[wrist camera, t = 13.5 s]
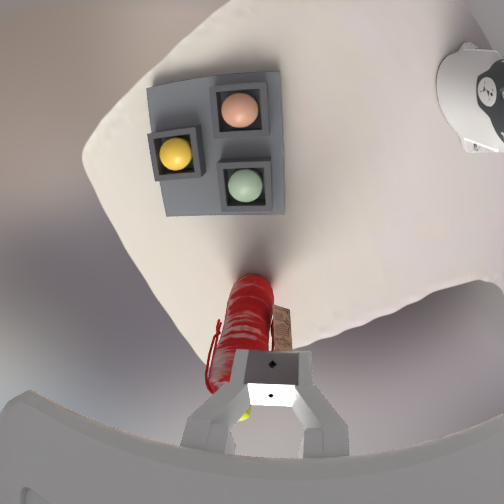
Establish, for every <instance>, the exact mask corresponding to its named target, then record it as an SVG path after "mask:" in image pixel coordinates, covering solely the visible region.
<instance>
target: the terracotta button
mask: <svg viewBox="0 0 504 504" xmlns="http://www.w3.org/2000/svg"><path fill="white" fill-rule="evenodd" d="M221 112H222V116H223V118H224V120H225V121H226V122H227V123H228V124H229V125H231V126H233V127H246V126H248V125H250V124H251V123H252V122H254V121H255V120H256V118H257V117H258V114H259V105H258V102H257V101H256V99H255V98H254V97H252V96H251V95H248V94H244V93H236V94H233V95H231V96H229V97H228V98H227V99H226V100H225V101H224V102H223V105H222V109H221Z"/></svg>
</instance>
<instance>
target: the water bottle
mask: <svg viewBox="0 0 504 504" xmlns="http://www.w3.org/2000/svg"><path fill="white" fill-rule="evenodd" d="M272 314H273V320H272ZM271 320H272V323H271ZM219 322H220V319H218V322H217V325H216V331H217V332H216V334H215V335H214V336H213V340H212V343H211V347H210V350H209V354H208V359H207V365H206V371H205V382H206V386H207V389H208V390H209V391H210V393H212V394H214V393H215V392H216V391H217V390H218V389H219V388H220V387H222V386H223V385H224V384H225V383H226V382H230V377H231V372H232V367H233V362H234V357H235V352H236V350H237V349H246V350H260V351H269V346H268V343H269V331H270V325H271V336H272V350H271V351H292V337H291V321H290V310H289V309H286V308H283V307H280V306H276V305H274V295H273V290H272V288H271V285H270V284H269V283H268V282H267V281H266V280H265V279H264V278H263V277H261V276H258V275H255V274H253V275H245V276H244V277H242V278H240V279H239V280H238V281H237V282H236V283H235V284H234V285H233V287H232V290H231V292H230V296H229V299H228V302H227V308H226V315H225V321H224V326H223V330H222V334H221V332H220V327H221V324H222V323H221V322H220V324H219ZM218 326H219V327H218ZM220 334H221V337H220V340H219V342H218V336H219V335H220ZM215 337H216V340H215ZM214 340H215V346H214V351H213V356H212V361H211V366H210V371H209V377H208V378H207V372H208V366H209V361H210V355H211V351H212V347H213V344H214ZM217 342H218V345H217ZM216 347H217V348H216ZM274 347H275V350H274ZM250 412H251V406H250V407H249V408H248V410H247V411H246V412H245V413H244V414H243V416H242V417H241V418H240V419H239V420H238V421H242V420H246V419H247V418H248V417H249V416H250Z"/></svg>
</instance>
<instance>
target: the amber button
mask: <svg viewBox="0 0 504 504" xmlns="http://www.w3.org/2000/svg"><path fill="white" fill-rule="evenodd" d="M160 159H161V162H162V163H163V165H164V166H165V167H167V168H168V169H171V170H180V169H183V168H184V167H185V166H187V165H188V164H189V163H190V162H191V161H192V160H193V155H192V147H191V141H190V140H189V139H188V138H186V137H182V136H177V137H174V138H172V139H169V140H167V141H166V142H165V143H164V144H163V145H162V146H161V149H160Z"/></svg>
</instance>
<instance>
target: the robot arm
mask: <svg viewBox="0 0 504 504" xmlns="http://www.w3.org/2000/svg"><path fill="white" fill-rule="evenodd" d="M436 85H437V95H438V100H439V103H440V106H441V109H442V112H443V114H444V116H445V118H446V119H447V121H448V122H449V124H450V125H451V126H452V128H453V129H454V130H455V131H456V132H457V134H458V135H459V138H460V141H461V144H462V146H463V148H464V150H465V151H467V152H470V153H482V152H504V56H502V55H501V54H500V53H499V52H498V51H495V50H482V49H480V48H478V47H477V46H476V45H474V44H473V43H471V42H464V43H463V44H462V46H461V47H460V49H459V51H457V52H455V53H453V54H450V55H449V56H447V57H446V58H445V59H444V60H443V62H442V63H441V65H440V67H439V70H438V74H437V84H436ZM474 143H475V146H474ZM312 384H313V383H312V355H311V351H260V350H246V349H237V350H236V352H235V357H234V362H233V367H232V372H231V377H230V382H226V383H225V384H224V385H223V386H222V387H220V388H219V389H218V390H217V391H216V392H215V393H214V394H213V395H212V396H211V397H210V398H209V399H208V400H207V401H206V402H205V403H203V404H202V405H201V406H200V407H199V408H198V409H197V410H196V411H195V412H194V413H192V414H191V415H190V416H189V417H188V419H187V422H186V426H185V430H184V433H183V437H182V441H181V445H180V446H178V445H173V444H169V443H165V442H161V441H157V440H153V439H150V438H146V437H142V436H139V435H136V434H132V433H130V432H126V431H123V430H120V429H118V428H115V427H111V426H109V425H106V424H104V423H101V422H98V421H96V420H94V419H91V418H89V417H86V416H84V415H82V414H79V413H77V412H75V411H73V410H70V409H68V408H66V407H64V406H62V405H60V404H58V403H56V402H54V401H52V400H50V399H48V398H46V397H45V396H43V395H41V394H39V393H37V392H35V391H33V390H28V391H26V392H24V393H22V394H20V395H18V396H16V397H15V398H13V399H11V400H10V401H9V402H8V403H7V404H6V405H5V407H4V408H3V409H2V411H1V413H0V504H504V413H503V414H501V415H499V416H496V417H494V418H492V419H490V420H488V421H485V422H483V423H480V424H478V425H475V426H473V427H470V428H467V429H465V430H462V431H460V432H456V433H453V434H450V435H447V436H444V437H441V438H438V439H434V440H430V441H427V442H423V443H419V444H415V445H411V446H406V447H402V448H397V449H392V450H387V451H381V452H374V453H367V454H360V455H351V456H349V438H348V425H347V424H346V423H345V422H344V420H343V419H342V418H341V417H340V415H339V414H338V413H337V412H336V410H335V409H334V408H333V407H332V405H331V404H330V403H329V401H328V400H327V399H326V398H325V396H324V395H323V394H322V393H321V391H320V390H319V389H318V387H317V386H313V385H312ZM251 405H278V406H291V407H292V409H293V410H294V412H295V414H296V415H297V417H298V419H299V420H300V422H301V424H302V425H303V427H304V428H305V431H304V434H303V438H302V440H301V443H300V446H299V452H298V454H299V455H298V458H296V459H295V458H264V457H263V458H262V457H250V456H239V455H235V448H236V444H235V442H234V439H233V437H232V434H231V432H230V429H231V428H232V427H233V426H234V424H236V423H237V421H238V420H239V419H240V418H241V417H242V416H243V414H244V413H245V412H246V411H247V410H248V408H249V407H250V406H251Z"/></svg>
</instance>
